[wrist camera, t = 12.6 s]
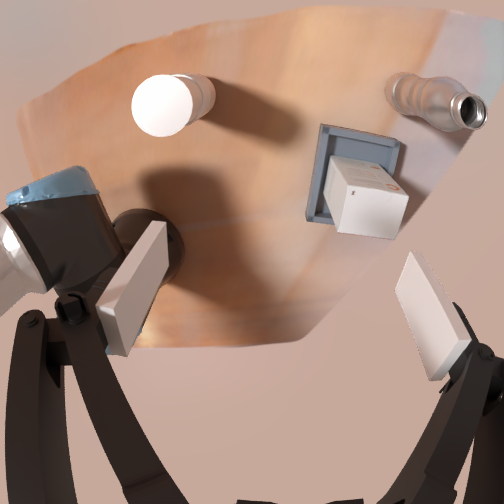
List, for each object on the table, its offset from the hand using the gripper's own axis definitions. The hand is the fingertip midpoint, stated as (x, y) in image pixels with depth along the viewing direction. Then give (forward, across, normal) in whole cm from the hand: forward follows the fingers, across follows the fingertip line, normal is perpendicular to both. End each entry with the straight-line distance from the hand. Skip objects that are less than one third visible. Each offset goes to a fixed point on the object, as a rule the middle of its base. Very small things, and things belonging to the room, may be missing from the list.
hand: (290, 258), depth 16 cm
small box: (+32, +11, -5) cm, 35 cm away
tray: (+33, +12, -5) cm, 35 cm away
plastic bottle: (+33, +17, +10) cm, 38 cm away
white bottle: (+33, -13, +5) cm, 36 cm away
